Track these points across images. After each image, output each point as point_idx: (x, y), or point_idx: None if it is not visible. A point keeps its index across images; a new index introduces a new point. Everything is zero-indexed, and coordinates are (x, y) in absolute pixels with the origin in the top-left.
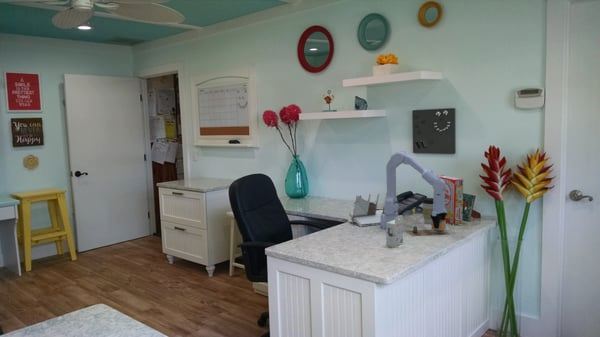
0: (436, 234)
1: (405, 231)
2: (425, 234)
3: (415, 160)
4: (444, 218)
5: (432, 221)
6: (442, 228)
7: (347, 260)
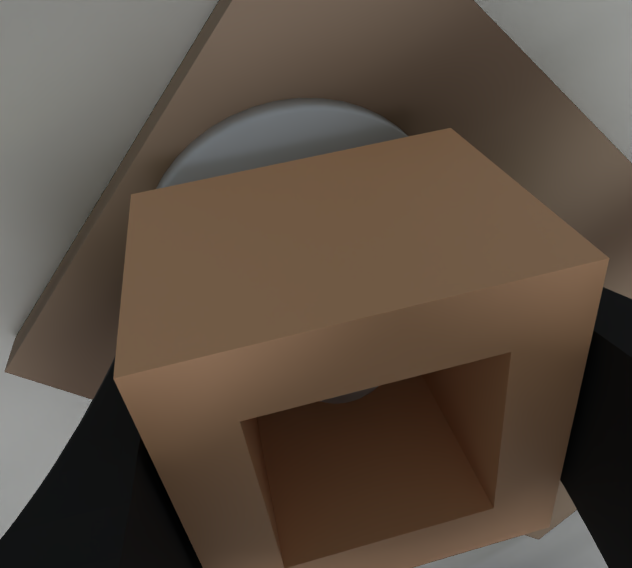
0: (540, 153)
1: (563, 514)
2: (628, 285)
3: None
4: (68, 526)
5: (545, 504)
6: (440, 155)
7: None
